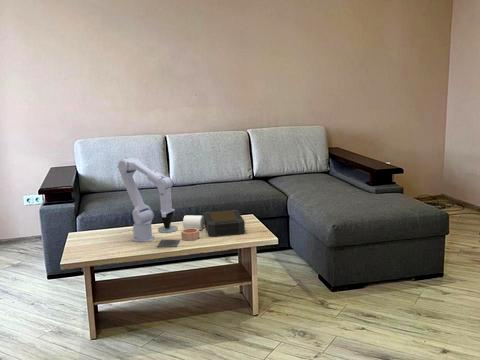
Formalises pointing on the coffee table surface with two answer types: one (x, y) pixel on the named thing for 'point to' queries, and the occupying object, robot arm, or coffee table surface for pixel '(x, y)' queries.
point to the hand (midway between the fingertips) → (167, 227)
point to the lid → (168, 229)
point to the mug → (193, 222)
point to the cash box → (224, 223)
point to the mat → (168, 243)
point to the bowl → (190, 234)
